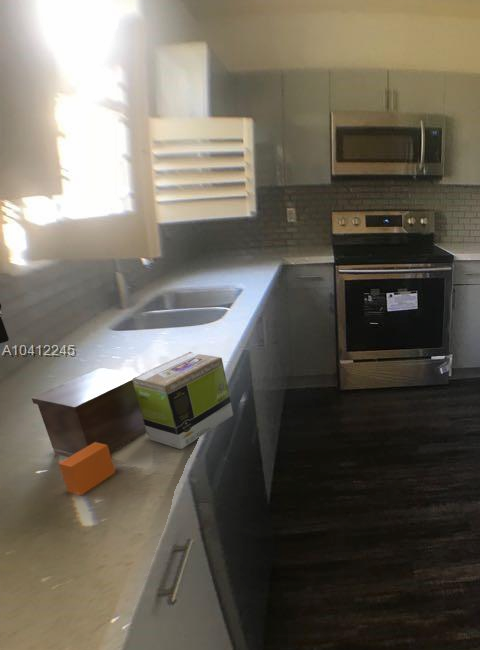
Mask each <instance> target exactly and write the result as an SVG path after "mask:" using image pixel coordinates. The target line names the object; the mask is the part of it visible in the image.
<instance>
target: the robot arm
mask: <svg viewBox="0 0 480 650" xmlns="http://www.w3.org/2000/svg"><path fill="white" fill-rule="evenodd" d="M1 310H2V304H1V303H0V344H3V343H7V342H9V339H10V338H9V335H8V332H7V329H6V326H5V324H4V321H3V318H2V316H3V312H2V311H1Z"/></svg>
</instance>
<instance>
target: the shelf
mask: <svg viewBox="0 0 480 650" xmlns="http://www.w3.org/2000/svg"><path fill="white" fill-rule="evenodd" d="M140 374H141V373H140ZM140 374H139V373H133V372H128V371H121V370H116V369H109V368H104V367H100V368H97V369H95V370H93V371H90V372H88V373H86V374H83V375H81V376H79V377H76V378H74V379H72V380H69V381H67V382H65V383H62V384H60V385H57V386H56V387H53V388H51V389H49V390H46V391H44V392H42V393H39V394H37V395H34V396H33V397H32V396H31V402H32V403H33V404H35V405H37V407H38V410H39V412H40V415H41V419H42V422H43V424H44V427H45V430H46V433H47V435H48V437H49V442H50V444H51V447H52V451H53V452H54V455H58V456H61V457H65V458H68V457H70V456H72V455H74V454H75V453H77V452H79V451H80V450H82V449H84V448H86V447H87V446H89V445H91V444H93V443H94V442H97V443H101V444H105V445H108V448H109V452H110V455H112V454H113V453H114V452H116V451H118V450H120V449H121V448H123V447H124V446H126V445H127V444H129V443H131V442H132V441H134V440H135V439H137V438H139V437H140V436H142V435H143V434H146V433H147V431H146V427H145V424H144V421H143V417H142V413H141V409H140V405H139V402H138V398H137V395H136V391H135V388H134V384H133V380H132V378H133V377H136V376H138V375H140Z"/></svg>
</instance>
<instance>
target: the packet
mask: <svg viewBox="0 0 480 650" xmlns="http://www.w3.org/2000/svg"><path fill="white" fill-rule="evenodd" d="M111 455H112V454H110V452H109V448H108V445H105V444H101V443H97V442H94V443H93V444H91V445H89V446H87V447H86V448H84V449H82V450H80V451H79V452H77V453H75V454H74V455H72V456H70V457H66V458H64V459H63V460H61V461H59V462H58V467H59V470H60V472H61V476H62V479H63V481H64V485H65V486H66V490H67V492H68V493H71V494H74V495H76V496H77V495H78V496H79V497H80V496H83V495H84V494H86V493H87V492H88V491H90V490H92V489H93V488H95V487H96V486H98V485H99V484H101V483H102V482H103V481H105V480H106V479H108V478H109V477H111V476H112V475H114V474H115V473H116V469H115V465H114V462H113V458H112V456H111Z"/></svg>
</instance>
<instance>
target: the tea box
mask: <svg viewBox="0 0 480 650" xmlns="http://www.w3.org/2000/svg"><path fill="white" fill-rule="evenodd" d="M132 380H133V384H134V388H135V391H136V395H137V398H138V402H139V405H140V409H141V413H142V417H143V421H144V424H145V427H146V431H147V432H146V433H147V434H146V435H147V437H148V439H149V440H150V441H154V442H157V443H160V444H163V445H165V446H169V447H172V448H176V449H179V450H182V449H184V448H185V447H187V446H188V445H190V444H192V443H193V442H195V441H196V440H198V439H199V438H201V437H202V436H204V435H205V434H206V433H208V432H210V431H212V430H213V429H215V428H216V427H218V426H220V425H221V424H222V423H224V422H226V421H227V420H229V419H230V418H231V417H233V416H234V412H233V407H232V402H231V397H230V392H229V386H228V381H227V376H226V372H225V366H224V362H223V358H222V357H220V356H213V355H209V354H208V355H207V354H202V353H196V352H192V351H189V352H187V353H184V354H182V355H179V356H177V357H176V358H173V359H171V360H169V361H167V362H164V363H162V364H160V365H157V366H155V367H153V368H151V369H149V370H146V371H144V372H143V373H140V375H138V376H136V377H133V378H132Z"/></svg>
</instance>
